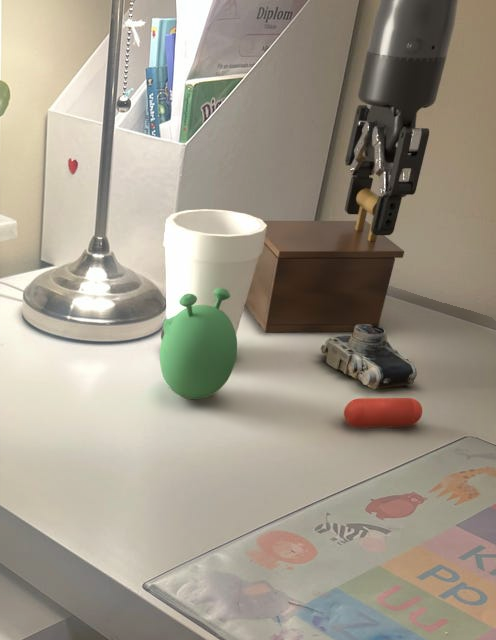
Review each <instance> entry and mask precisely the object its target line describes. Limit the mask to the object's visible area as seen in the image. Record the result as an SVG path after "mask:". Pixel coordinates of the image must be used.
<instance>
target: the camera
mask: <svg viewBox="0 0 496 640" xmlns="http://www.w3.org/2000/svg"><path fill="white" fill-rule="evenodd" d="M324 343H325V344H322V345H321V346H320V351H321V353H322V354H325V355H326V359H325V362H326V363H325V364H327V366H329V367H331V368H333V369H335V370H340V371H341V372H343V374H345V375H347V376H350V377H352V378H353V379H356V380H359V381H360V382H362V385H364V386H367V387H369V388H370V389H373V390H376V389H385V388H395V387H403V386H404V387H405V386H410V385H413V384H414V383H415V379H416V378H417V377H418V376H417V375H418V373H417V367H416V365H415V364H414V363H413V362H412V361H410V360H409V359H408V358H405V357H404V356H402V355H401V354H400V353H399V352H398V351H397V350H396V349H394V348H393V347H392V345H391V344H390V342H389V341H388V338H387V332H386V329H384V328H383V327H380V326H378V327H376V326H372V325H370V324H360V325H356V326H355V328H354V332H353V333H351V334H349V335H338V336H331V337H328V338H327V340H325V342H324Z"/></svg>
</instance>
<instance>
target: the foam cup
mask: <svg viewBox="0 0 496 640" xmlns="http://www.w3.org/2000/svg"><path fill="white" fill-rule="evenodd" d="M263 221H264V220H262V218H259V217H256V216H254V215H251V214H248V213H243V212H238V211H232V210H228V209H227V210H225V209H209V208H203V209H185V210H181V211H178V212H174V213H171V214H170V215H169V216H168V217H167V218H166V219H165V229H164V238H163V247H165V286H166V287H165V288H166V292H165V293H166V319H169V318H171V317H173V316H175V315H177V314H178V313H179V312H180V311H182V310H183V309H185V308H186V307H184V306H182V305H180V303H179V300H180V298H181V297H182V296H183V295H185V294H193V295H195V296H196V297H197V301H196V302H195V303H194V304H193V305H192V306H194V305H208V306H213V307H214V306H215V303H216V300H217V298H216V296H215V295H214V292H213V291H214V290H215V289H218V288H223V289H226V290H227V291H228V292H229V294H230V297H229V298H228V299H226V300H222V302H221V304H220V307H219V310H221V311H223V312H224V313H225V314H226V315H227V316H228V318H229V319H230V320H231V322H232V324H233V327H234V330H235V333H236V334H237V333H238V330H239V326H240V323H241V320H242V317H243V314H244V313H243V312H244V309H245V307H246V305H245V302H246V299H247V296H248V292H249V289H250V285H251V282H252V278H253V275H254V272H255V268H256V265H257V261H258V258H259V256H260V254H261V253H262V251H263V246H264V240H265V234H266V228H267V225H266V224H265V223H264V222H263Z"/></svg>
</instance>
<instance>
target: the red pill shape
mask: <svg viewBox="0 0 496 640" xmlns="http://www.w3.org/2000/svg"><path fill="white" fill-rule="evenodd" d="M422 416H423V407H422V404H421V402H419V400H418V399H416V398H413V397H366V398H364V397H359V398H354V399H352V400H350V401H349V402H348V403H347V404H346V406H345V408H344V410H343V417H344V420H345V421H346V423H347V424H348V425H349V426H350V427H355V428H384V427H385V428H386V427H388V428H390V427H393V428H394V427H411V426H413V425H415V424H417V423H418V422H419V421H420V420H421V418H422Z"/></svg>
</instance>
